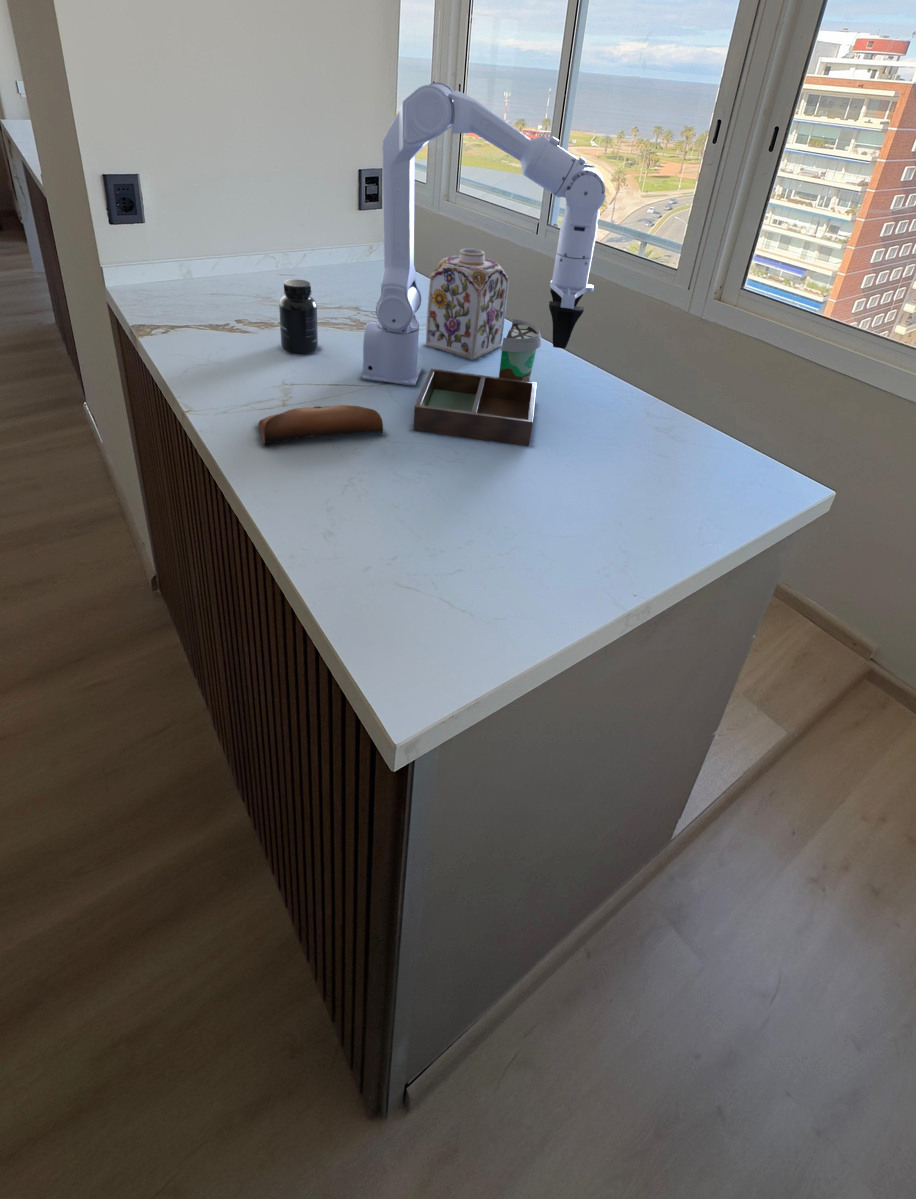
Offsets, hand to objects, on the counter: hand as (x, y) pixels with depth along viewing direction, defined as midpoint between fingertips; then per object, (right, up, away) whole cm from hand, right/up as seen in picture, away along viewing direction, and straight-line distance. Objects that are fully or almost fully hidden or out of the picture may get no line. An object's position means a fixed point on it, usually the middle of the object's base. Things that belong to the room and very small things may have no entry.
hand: (559, 339), depth 124 cm
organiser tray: (-14, -14, -3) cm, 20 cm away
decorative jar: (-16, +7, +23) cm, 29 cm away
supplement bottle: (-47, +3, +14) cm, 50 cm away
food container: (-6, -5, +9) cm, 12 cm away
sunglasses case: (-39, -19, -13) cm, 45 cm away
